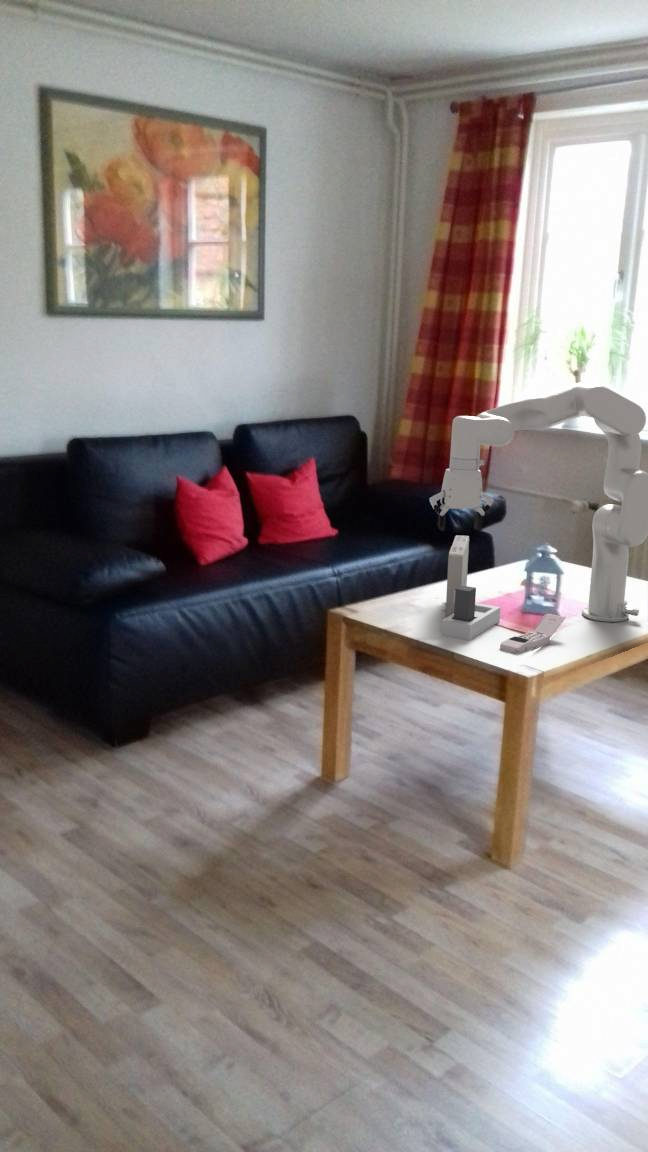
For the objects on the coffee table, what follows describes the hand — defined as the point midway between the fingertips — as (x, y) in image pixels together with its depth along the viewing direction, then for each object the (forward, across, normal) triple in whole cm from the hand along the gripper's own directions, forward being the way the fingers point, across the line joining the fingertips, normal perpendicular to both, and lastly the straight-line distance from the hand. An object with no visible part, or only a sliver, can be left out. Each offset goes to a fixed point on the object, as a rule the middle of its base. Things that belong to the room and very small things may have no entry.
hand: (459, 529), depth 268 cm
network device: (+27, -5, -13) cm, 31 cm away
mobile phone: (+27, -15, +17) cm, 35 cm away
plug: (+26, 0, +7) cm, 27 cm away
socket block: (+27, -4, +4) cm, 27 cm away
